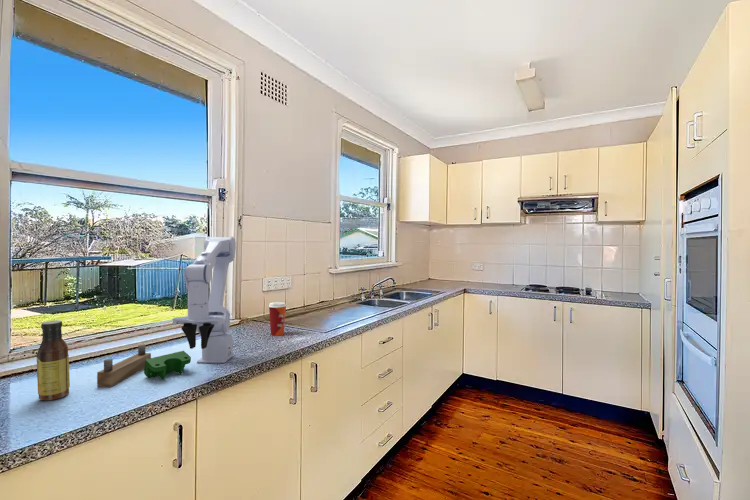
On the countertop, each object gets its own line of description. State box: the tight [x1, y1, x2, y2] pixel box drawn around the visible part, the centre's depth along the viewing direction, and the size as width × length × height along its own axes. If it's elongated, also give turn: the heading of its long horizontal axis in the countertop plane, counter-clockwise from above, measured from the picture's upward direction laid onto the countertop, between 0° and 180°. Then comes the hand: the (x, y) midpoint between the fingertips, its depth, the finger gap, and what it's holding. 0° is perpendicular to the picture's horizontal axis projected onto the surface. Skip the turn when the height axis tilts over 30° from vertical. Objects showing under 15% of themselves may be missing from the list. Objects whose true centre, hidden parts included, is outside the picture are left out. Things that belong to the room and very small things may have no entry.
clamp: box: [143, 350, 192, 380], centre depth 111 cm, size 12×6×9 cm, turn 138°
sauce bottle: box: [36, 319, 71, 402], centre depth 94 cm, size 7×6×20 cm
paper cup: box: [268, 301, 287, 337], centre depth 161 cm, size 8×8×14 cm
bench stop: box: [96, 343, 152, 388], centre depth 110 cm, size 4×18×7 cm, turn 0°
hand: (198, 347), depth 111 cm, fingers open, 3 cm apart
